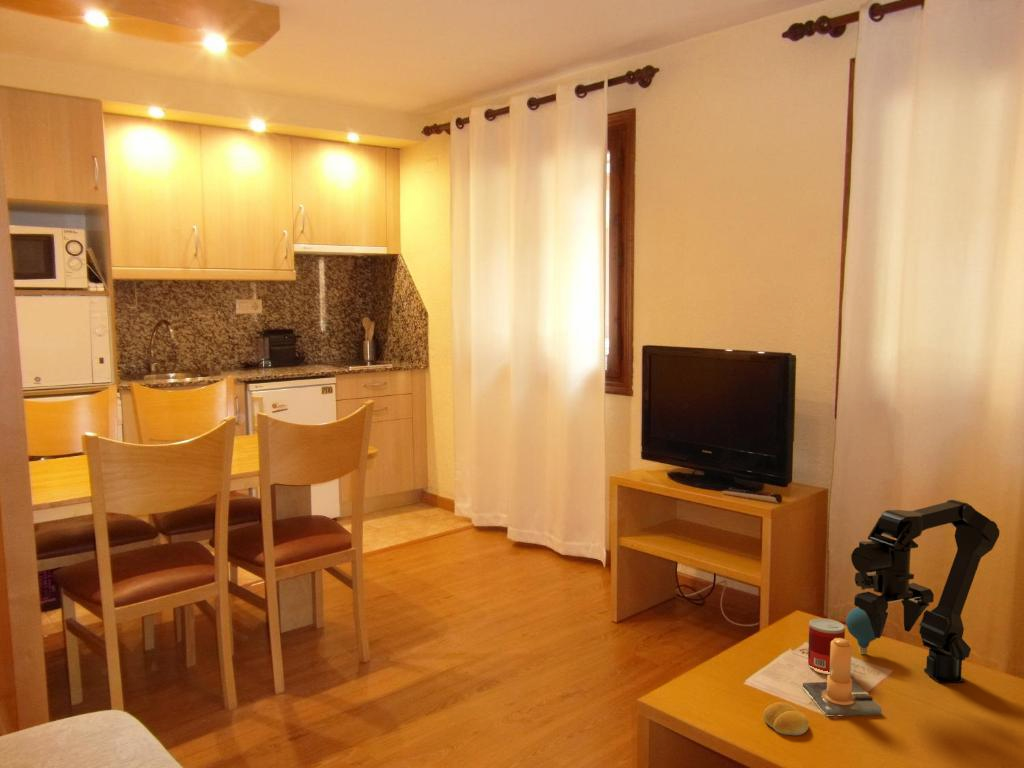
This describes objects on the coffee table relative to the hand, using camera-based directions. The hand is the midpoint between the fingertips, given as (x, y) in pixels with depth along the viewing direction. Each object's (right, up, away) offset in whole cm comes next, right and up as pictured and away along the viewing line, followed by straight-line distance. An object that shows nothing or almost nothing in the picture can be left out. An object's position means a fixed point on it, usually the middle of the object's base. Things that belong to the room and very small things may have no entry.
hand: (892, 634), depth 175 cm
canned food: (-11, -12, +12) cm, 20 cm away
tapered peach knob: (-15, -12, -6) cm, 20 cm away
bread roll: (-29, -15, -14) cm, 36 cm away
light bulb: (+2, -11, +19) cm, 23 cm away
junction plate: (-14, -14, -4) cm, 20 cm away
